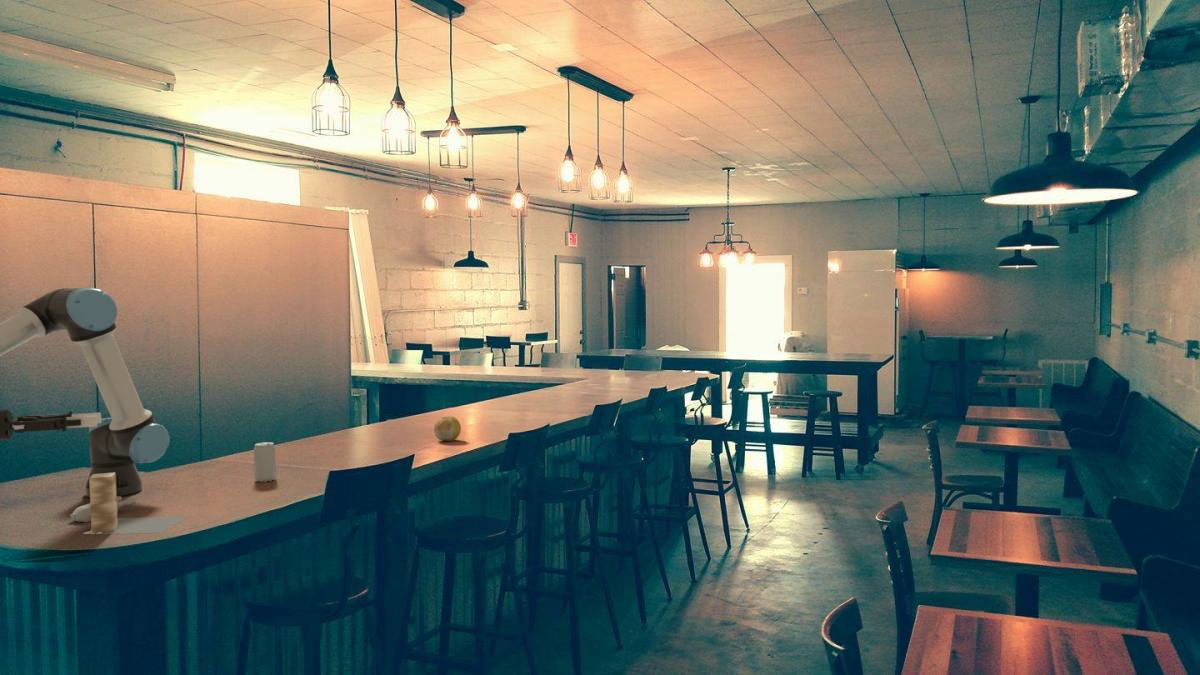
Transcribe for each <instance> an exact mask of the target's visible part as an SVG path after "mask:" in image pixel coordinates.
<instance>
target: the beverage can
mask: <svg viewBox="0 0 1200 675" xmlns="http://www.w3.org/2000/svg"><path fill="white" fill-rule="evenodd" d="M253 456H254V457H253V461H254V463H253V464H254V465H253V466H254V480H255V481H257V482H258V483H268V482H267V481H270V482H272V480H273V481H274V480H275V479H276V478H277V464H276V463H277V462H276V460H277V459H276V446H275V443H274V442H270V441H269V442H266V441H265V442H257V443H255V444H254V448H253Z"/></svg>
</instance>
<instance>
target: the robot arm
mask: <svg viewBox="0 0 1200 675" xmlns="http://www.w3.org/2000/svg"><path fill="white" fill-rule="evenodd" d="M117 316H118V307H117V304H116V302H115V300H114V298H113V297H112V296H111V295H110V294H108V293H107V292H106V291H103V290H101V289H98V288H93V287H77V288H76V287H75V288H74V287H73V288H58V289H55V290H52V291H50V292H49V291H48V292H47V293H46V294H44V295H41V296H40V297H38V298H36V299H34V300H33V301H31V302H29V303H27V304H25V305H23V306H22V307H19V308H18V310H17V314H15V315H13V316H11V317H9V318H6V319H5V320H3V321H1V322H0V357H2V356H4V355H5V354H7V353H8V352H11V351H12V350H15V349H16V348H17V347H20V346H21V345H23V344H25V343H27V342H28V341H31V340H32V339H34V338H44V337H46V336H47V335H49V334H51V333H55V332H58V331H63V330H66V332H67V334H68V336H69V339H70V341H71V342H72V343H74V344H76V345H79V346H80V348H81V351H82V353H83V355H84V357H85V360H86V362H87V364H88V366H89V368H90V369H89V370H90V371H91V373H92V376H93V379H94V381H95V383H96V385H97V387H98V390H99V391H100V395H101V397H102V398H103V401H104V404H105V406H106V408H107V410H108V413H109V415H110V417H106V418H105V417H104V418H102V413H101V412H88V413H86V412H84V413H73V411H71V410H69V411H68V412H69V413H68V412H67V413H59V414H58V413H57V414H56V413H55V414H53V413H52V414H42V415H41V414H36V415H35V414H34V415H32V414H29V415H28V414H23V415H22V414H21V415H19V416H17V417H16V418H14V417H13V412H12V411H11V410H10V409H0V441H8V440H10V439H11V438H13V434H14V433H16V434H19V433H21V434H23V433H26V432H27V433H28V432H40V431H43V432H44V431H60V430H61V432H66V431H67V429H76V428H77V429H79V428H88V436H89V453H90V472H89V475H88V478H87V480H86V483H85V488H84V494H85V496H86V497H88V498H90V483H89V478H90V477H91V476H92V475H93V474H102V473H115V474H116V497H117V496H121V497H122V496H127V495H128V496H129V495H133V494H135V493H139V492H141V491H142V490H143V480H142V479H141V476H140V474H139V472H138V469H137V467H136V464H149V463H153V462H156V461H158V460H159V459H161V458H162V457H163V456H164V455H165V453H166V452H167V450H168V449H167V448H168V447H169V444H170V434H169V432H168V429H167V428H165V427H164V426H163V425H162V424H161V423H157V421H156V419H155V418H154V415H153V413H152V410H149V409H146V408H144V406H143V403H142V401H141V399H140V396H139V392H137V389H136V387H135V384H134V381H133V379H132V377H131V374H130V372H129V369H128V367H127V365H126V363H125V360H124V358H123V355H122V352H121V350H120V348H119V346H118V343H117V341H116V338H115V336H114V334H115V332H116V331H117V328H118V327H117V325H116V323H115V322H116V320H117Z"/></svg>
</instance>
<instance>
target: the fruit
mask: <svg viewBox="0 0 1200 675" xmlns="http://www.w3.org/2000/svg"><path fill="white" fill-rule="evenodd" d="M433 431H434V432H433V433H434V436H435V437H436V438H437V439H438V440H440V441H444V442H445V441H446V442H447V441H448V442H453V441H455V440H457V439H458V438H459V436H460V434H461V431H462V427H461V423H460V421H459V420H458V418H457V417H455V416H451V415H449V416H443V417H441V418H438V419H437V421H436V422H435V425H434V427H433Z"/></svg>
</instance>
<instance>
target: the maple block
mask: <svg viewBox="0 0 1200 675" xmlns="http://www.w3.org/2000/svg"><path fill="white" fill-rule="evenodd" d="M89 483H90V497H89V501H90V502H89V503H90V505H91V521H90V524H91V525H90V526H91V529H92V533H98V532H110V531H115V529H116V528H117V526H118V519H117V518H118V511H117V496H116V474H115V473H102V474H93V475H92V476H91V477H90V478H89Z"/></svg>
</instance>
